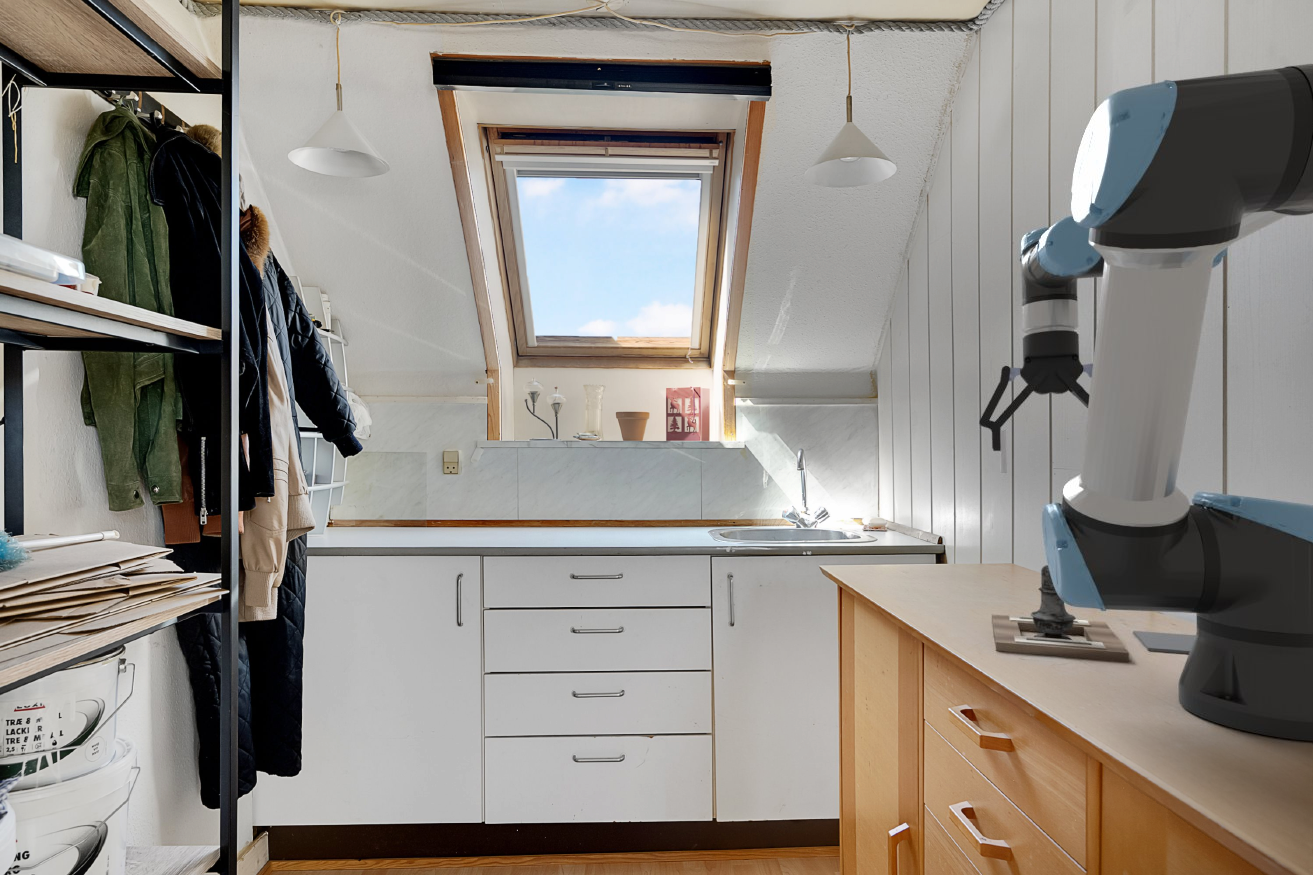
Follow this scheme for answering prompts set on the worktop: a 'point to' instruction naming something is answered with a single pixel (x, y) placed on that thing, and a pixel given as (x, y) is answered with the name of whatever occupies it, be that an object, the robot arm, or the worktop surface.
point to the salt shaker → (1051, 611)
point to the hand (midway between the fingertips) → (1053, 473)
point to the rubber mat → (1166, 641)
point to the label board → (1096, 634)
